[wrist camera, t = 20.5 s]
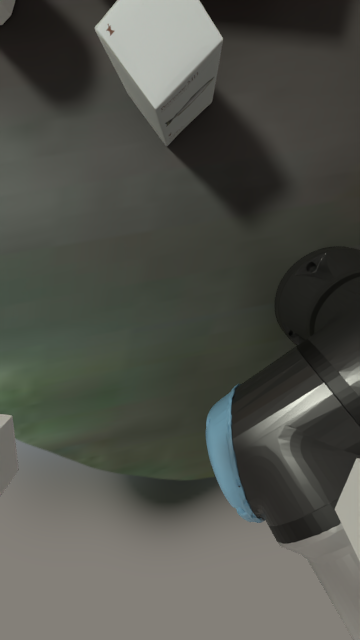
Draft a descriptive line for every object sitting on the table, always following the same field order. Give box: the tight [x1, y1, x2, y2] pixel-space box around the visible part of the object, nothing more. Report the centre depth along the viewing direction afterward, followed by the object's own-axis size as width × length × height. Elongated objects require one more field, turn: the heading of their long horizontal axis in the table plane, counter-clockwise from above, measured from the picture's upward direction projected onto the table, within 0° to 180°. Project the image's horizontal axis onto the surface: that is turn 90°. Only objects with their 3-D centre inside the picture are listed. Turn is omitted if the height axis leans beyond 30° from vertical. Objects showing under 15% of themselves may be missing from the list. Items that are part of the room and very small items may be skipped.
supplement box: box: [95, 0, 223, 146], centre depth 27 cm, size 7×7×13 cm
